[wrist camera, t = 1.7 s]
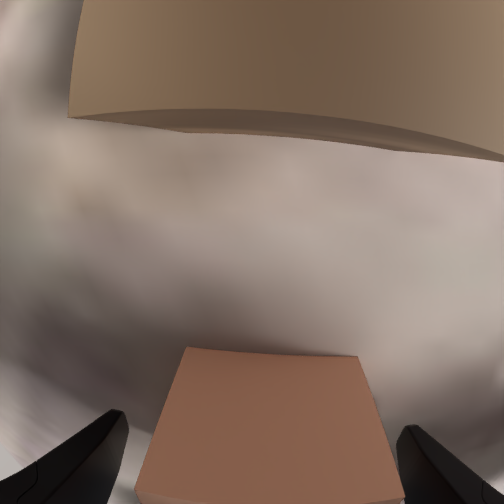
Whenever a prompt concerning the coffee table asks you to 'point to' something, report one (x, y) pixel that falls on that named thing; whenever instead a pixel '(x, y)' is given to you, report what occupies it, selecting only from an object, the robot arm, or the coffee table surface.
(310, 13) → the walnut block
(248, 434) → the terracotta block
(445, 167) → the coffee table surface
